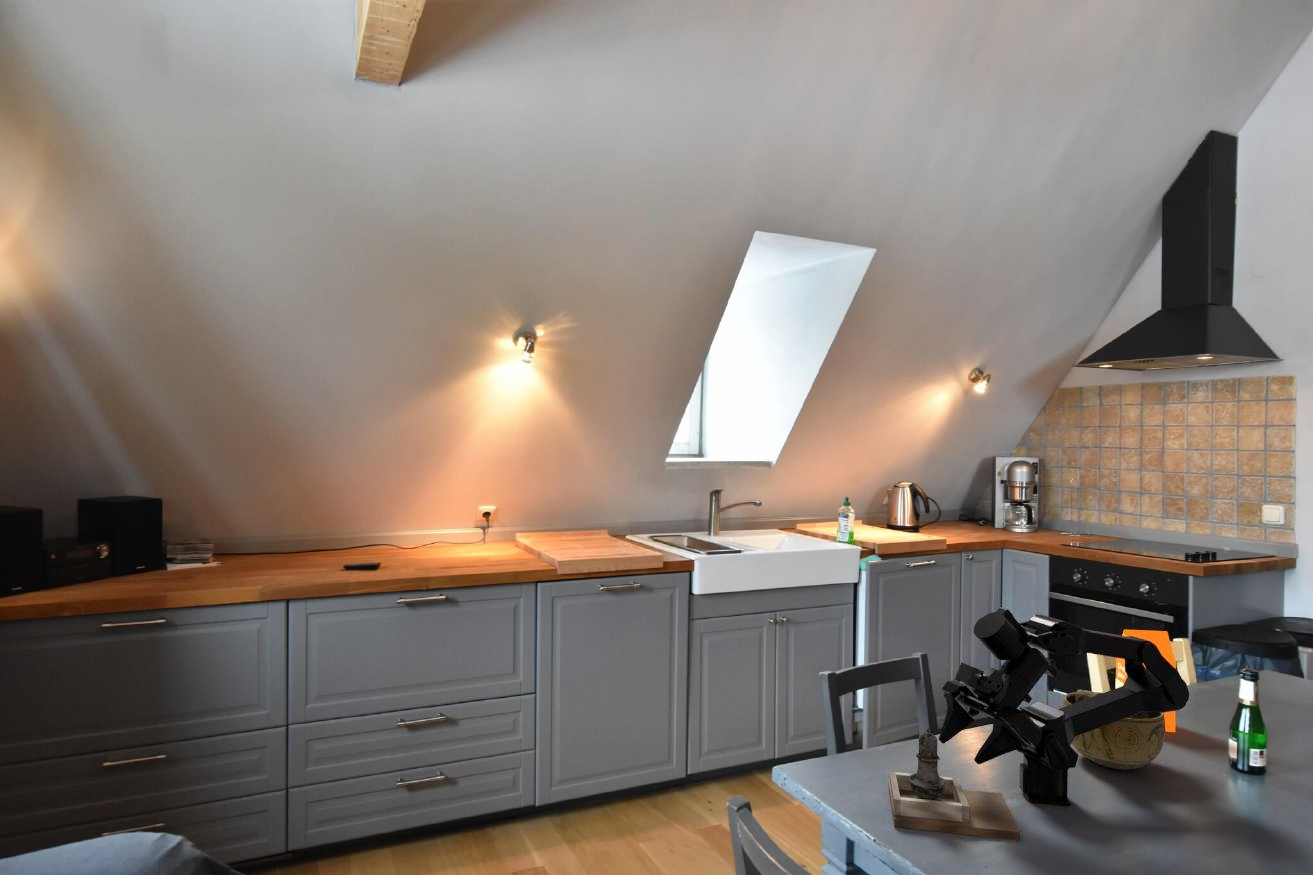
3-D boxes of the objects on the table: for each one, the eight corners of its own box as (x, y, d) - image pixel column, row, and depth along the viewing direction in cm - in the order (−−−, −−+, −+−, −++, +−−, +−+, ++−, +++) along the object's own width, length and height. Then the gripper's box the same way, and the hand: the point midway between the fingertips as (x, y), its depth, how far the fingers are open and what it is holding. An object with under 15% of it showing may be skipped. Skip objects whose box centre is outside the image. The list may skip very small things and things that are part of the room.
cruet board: (1001, 800, 136) (1001, 778, 136) (1020, 840, 122) (1020, 815, 122) (888, 789, 140) (888, 768, 140) (894, 826, 126) (894, 803, 126)
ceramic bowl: (1131, 793, 139) (1132, 704, 140) (1035, 761, 153) (1036, 680, 153) (1188, 764, 153) (1189, 683, 153) (1095, 737, 166) (1095, 663, 166)
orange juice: (1115, 717, 179) (1115, 625, 179) (1158, 720, 178) (1159, 627, 178) (1130, 729, 171) (1131, 633, 171) (1176, 732, 170) (1177, 635, 170)
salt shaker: (954, 808, 130) (955, 732, 130) (922, 812, 128) (923, 735, 128) (932, 793, 135) (933, 720, 136) (900, 796, 134) (901, 723, 134)
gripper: (951, 633, 144) (895, 701, 141) (1026, 660, 126) (964, 739, 123) (989, 675, 146) (935, 743, 143) (1068, 708, 128) (1008, 787, 125)
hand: (957, 751), depth 133 cm, fingers open, 9 cm apart
